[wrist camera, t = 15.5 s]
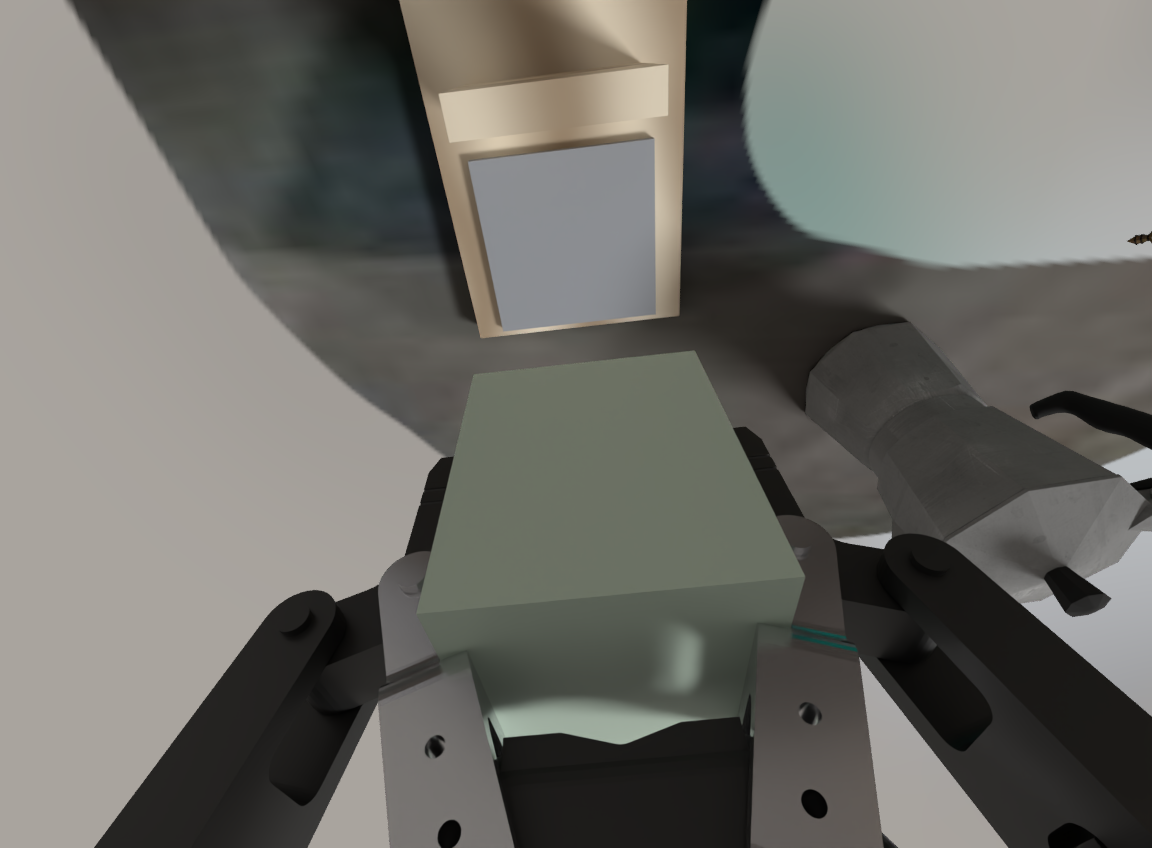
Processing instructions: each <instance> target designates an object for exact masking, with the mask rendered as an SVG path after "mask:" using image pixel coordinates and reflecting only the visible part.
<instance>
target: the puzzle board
mask: <svg viewBox="0 0 1152 848" xmlns="http://www.w3.org/2000/svg"><path fill="white" fill-rule="evenodd" d="M399 1H400V5H401V10H402V14H403V18H404V22H405V26H406V30H407V34H408V39H409V43H410V47H411V51H412V55H413V59H414V63H415V68H416V72H417V76H418V80H419V84H420V88H421V92H422V97H423V101H424V105H425V109H426V113H427V117H428V121H429V126H430V130H431V134H432V138H433V142H434V146H435V150H436V155H437V159H438V163H439V167H440V171H441V175H442V179H443V184H444V188H445V192H446V196H447V200H448V204H449V208H450V213H451V217H452V221H453V225H454V229H455V233H456V237H457V241H458V246H459V250H460V254H461V258H462V262H463V266H464V270H465V275H466V279H467V283H468V287H469V291H470V295H471V299H472V304H473V308H474V312H475V316H476V320H477V324H478V328H479V333H480V337H481V338H487V337H496V336H505V335H514V334H523V333H531V332H540V331H549V330H558V329H567V328H576V327H584V326H593V325H602V324H611V323H620V322H629V321H638V320H646V319H655V318H664V317H673V316H679V309H680V267H681V224H682V182H683V140H684V97H685V55H686V13H687V0H399ZM652 137H653V138H654V139H655V274H656V314H654V315H645V316H636V317H627V318H619V319H610V320H601V321H592V322H583V323H574V324H566V325H557V326H548V327H539V328H530V329H521V330H513V331H504V332H503V328H502V323H501V318H500V313H499V308H498V304H497V299H496V294H495V289H494V285H493V280H492V275H491V270H490V266H489V261H488V256H487V251H486V246H485V242H484V237H483V232H482V227H481V223H480V218H479V213H478V208H477V203H476V199H475V194H474V189H473V184H472V180H471V175H470V170H469V165H468V161H469V160H474V159H482V158H490V157H498V156H506V155H514V154H522V153H531V152H539V151H547V150H555V149H563V148H571V147H579V146H587V145H595V144H603V143H612V142H620V141H628V140H636V139H644V138H652Z"/></svg>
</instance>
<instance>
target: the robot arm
mask: <svg viewBox="0 0 1152 848" xmlns="http://www.w3.org/2000/svg"><path fill="white" fill-rule="evenodd" d="M733 430H734V432H735V434H736V436H737V438H738V440H739V442H740V444H741V446H742V448H743V450H744V452H745V454H746V456H747V458H748V460H749V462H750V464H751V466H752V469H753V471H754V473H755V475H756V477H757V479H758V481H759V483H760V485H761V487H762V489H763V491H764V493H765V495H766V497H767V499H768V501H769V503H770V505H771V507H772V509H773V511H774V513H775V516H776V518H777V520H778V522H779V524H780V526H781V528H782V530H783V532H784V534H785V536H786V538H787V540H788V542H789V544H790V546H791V548H792V550H793V552H794V554H795V556H796V558H797V560H798V562H799V565H800V567H801V569H802V571H803V573H804V575H805V580H804V583H803V587H802V590H801V594H800V597H799V601H798V604H797V608H796V611H795V615H794V618H793V622H792V625H791V628H790V629H789V628H784V627H780V626H775V625H770V624H764V623H757V625H756V630H755V635H754V640H753V644H752V649H751V654H750V658H749V663H748V668H747V673H746V677H745V682H744V687H743V691H742V696H741V701H740V706H739V710H738V715H737V717H729V718H718V719H707V720H696V721H685V722H679V723H677V724H674V725H672V726H669V727H667V728H664V729H662V730H659V731H657V732H654V733H652V734H649V735H647V736H644V737H642V738H639V739H637V740H634V741H632V742H629V743H626V744H614V743H609V742H604V741H599V740H594V739H590V738H585V737H580V736H575V735H570V734H565V733H550V734H539V735H528V736H516V737H505V735H504V732H503V730H502V728H501V725H500V723H499V721H498V719H497V716H496V714H495V712H494V710H493V707H492V705H491V703H490V701H489V698H488V696H487V694H486V691H485V689H484V687H483V685H482V682H481V680H480V678H479V676H478V673H477V671H476V669H475V667H474V664H473V662H472V660H471V657H470V655H469V653H468V651H467V650H465V651H462V652H459V653H457V654H454V655H452V656H449V657H447V658H445V659H442V660H440V659H439V657H438V655H437V653H436V652H435V650H434V648H433V646H432V644H431V642H430V640H429V638H428V636H427V634H426V632H425V630H424V628H423V626H422V624H421V622H420V621H419V619H418V617H417V615H416V613H417V609H418V604H419V600H420V596H421V592H422V588H423V584H424V579H425V575H426V571H427V567H428V563H429V559H430V554H431V550H432V546H433V542H434V538H435V534H436V529H437V525H438V521H439V517H440V513H441V509H442V504H443V500H444V496H445V492H446V488H447V484H448V480H449V475H450V471H451V467H452V463H453V459H454V457H446V458H441V459H440V460H439V461H438V462H437V464H436V465H435V466H434V467H433V469H432V470H431V471H430V472H429V474H428V478H427V481H426V485H425V488H424V492H423V495H422V498H421V502H420V503H421V506H419V509H418V512H417V516H416V519H415V522H414V526H413V529H412V533H411V536H410V540H409V543H408V546H407V550H406V553H405V556H404V557H402V558H401V559H399V560H397V561H396V562H395V563H393V564H392V565H391V566H390V567H389V568H388V569H387V571H386V572H385V573H384V575H383V576H382V578H381V581H380V583H379V585H377V586H376V587H374V588H371V589H369V590H367V591H364V592H361V593H359V594H356V595H353V596H351V597H348V598H345V599H343V600H340V601H338V602H335V601H334V599H333V598H332V597H331V596H330V595H329V594H328V593H326V592H324V591H318V590H312V591H306V592H302V593H299V594H296V595H294V596H292V597H290V598H288V599H286V600H285V601H284V602H282V603H281V604H279V605H278V606H277V607H276V608H275V609H273V610H272V611H271V613H270V614H269V615H268V616H267V617H266V618H265V620H264V621H263V622H262V624H261V625H260V626H259V628H258V629H257V630H256V632H255V633H254V635H253V636H252V637H251V638H250V640H249V641H248V643H247V644H246V645H245V646H244V648H243V649H242V651H241V652H240V653H239V654H238V656H237V657H236V659H235V660H234V661H233V663H232V664H231V665H230V667H229V668H228V669H227V671H226V672H225V673H224V675H223V676H222V677H221V679H220V680H219V681H218V683H217V684H216V685H215V687H214V688H213V689H212V691H211V692H210V693H209V695H208V696H207V697H206V699H205V700H204V701H203V703H202V704H201V705H200V707H199V708H198V709H197V711H196V712H195V713H194V715H193V716H192V717H191V719H190V720H189V722H188V723H187V724H186V725H185V727H184V728H183V729H182V731H181V732H180V734H179V735H178V736H177V738H176V739H175V740H174V741H173V743H172V744H171V746H170V747H169V748H168V750H167V751H166V752H165V754H164V755H163V756H162V758H161V759H160V760H159V762H158V763H157V764H156V766H155V767H154V768H153V770H152V771H151V772H150V774H149V775H148V776H147V778H146V779H145V780H144V782H143V783H142V784H141V786H140V787H139V788H138V790H137V791H136V792H135V794H134V795H133V796H132V798H131V799H130V800H129V802H128V803H127V804H126V806H125V807H124V809H123V810H122V811H121V813H120V814H119V815H118V816H117V818H116V819H115V821H114V822H113V823H112V824H111V826H110V827H109V828H108V830H107V831H106V833H105V834H104V835H103V837H102V838H101V839H100V841H99V842H98V843H97V845H96V846H95V847H94V848H307V847H308V845H309V843H310V841H311V839H312V837H313V835H314V833H315V831H316V829H317V827H318V825H319V823H320V821H321V818H322V816H323V814H324V812H325V810H326V808H327V806H328V804H329V802H330V800H331V798H332V796H333V794H334V792H335V790H336V788H337V785H338V783H339V781H340V779H341V777H342V775H343V773H344V771H345V769H346V767H347V765H348V763H349V761H350V759H351V757H352V754H353V752H354V750H355V748H356V746H357V744H358V742H359V740H360V738H361V736H362V734H363V732H364V730H365V728H366V726H367V723H368V721H369V719H370V717H371V715H372V713H373V711H374V709H375V707H376V705H377V703H378V707H379V720H380V732H381V744H382V757H383V767H384V781H385V793H386V806H387V818H388V830H389V842H390V848H898V847H897V846H896V845H895V844H894V843H892V842H891V841H890V840H889V839H888V838H887V837H886V836H885V835H884V834H883V833H882V831H881V824H880V816H879V808H878V801H877V792H876V784H875V777H874V769H873V761H872V753H871V745H870V738H869V730H868V722H867V714H866V707H865V699H864V691H863V683H862V676H861V668H860V661H859V657H860V658H861V660H862V661H863V662H864V664H865V665H866V666H867V667H868V669H869V670H870V671H871V672H872V674H873V675H874V676H875V678H876V679H877V680H878V681H879V683H880V684H881V685H882V687H883V688H884V689H885V690H886V692H887V693H888V694H889V695H890V697H891V698H892V699H893V701H894V702H895V703H896V704H897V706H898V707H899V708H900V709H901V710H902V712H903V713H904V715H905V716H906V717H907V719H908V720H909V721H910V722H911V724H912V725H913V726H914V727H915V729H916V730H917V731H918V733H919V734H920V735H921V736H922V738H923V739H924V740H925V742H926V743H927V744H928V745H929V746H930V748H931V749H932V750H933V752H934V753H935V754H936V756H937V757H938V758H939V759H940V761H941V762H942V763H943V765H944V766H945V767H946V768H947V770H948V771H949V772H950V773H951V775H952V776H953V777H954V779H955V780H956V781H957V782H958V784H959V785H960V786H961V787H962V789H963V790H964V791H965V793H966V794H967V795H968V796H969V798H970V799H971V800H972V801H973V803H974V804H975V805H976V807H977V808H978V809H979V811H980V812H981V813H982V814H983V816H984V817H985V818H986V819H987V821H988V822H989V823H990V825H991V826H992V827H993V828H994V830H995V831H996V832H997V833H998V835H999V836H1000V837H1001V839H1002V840H1003V841H1004V842H1005V844H1006V845H1007V846H1008V848H1152V717H1151V716H1150V715H1149V714H1148V713H1147V712H1146V711H1144V710H1143V709H1142V708H1141V707H1140V706H1139V705H1138V704H1136V703H1135V702H1134V701H1133V700H1132V699H1131V698H1129V697H1128V696H1127V695H1126V694H1125V693H1124V692H1122V691H1121V690H1120V689H1119V688H1118V687H1116V686H1115V685H1114V684H1113V683H1112V682H1111V681H1110V680H1108V679H1107V678H1106V677H1105V676H1104V675H1103V674H1101V673H1100V672H1099V671H1098V670H1097V669H1096V668H1094V667H1093V666H1092V665H1091V664H1090V663H1089V662H1087V661H1086V660H1085V659H1084V658H1083V657H1082V656H1080V655H1079V654H1078V653H1077V652H1076V651H1075V650H1073V649H1072V648H1071V647H1070V646H1069V645H1068V644H1066V643H1065V642H1064V641H1063V640H1062V639H1061V638H1059V637H1058V636H1057V635H1056V634H1055V633H1054V632H1052V631H1051V630H1050V629H1049V628H1048V627H1047V626H1045V625H1044V624H1043V623H1042V622H1041V621H1040V620H1038V619H1037V618H1036V617H1035V616H1034V615H1033V614H1031V613H1030V612H1029V611H1028V610H1027V609H1026V608H1024V607H1023V606H1022V605H1021V604H1020V603H1019V602H1017V601H1016V600H1015V599H1014V598H1013V597H1012V596H1011V595H1009V594H1008V593H1007V592H1006V591H1005V590H1004V589H1002V588H1001V587H1000V586H999V585H998V584H997V583H995V582H994V581H993V580H992V579H991V578H990V577H988V576H987V575H986V574H985V573H984V572H983V571H981V570H980V569H979V568H978V567H977V566H976V565H974V564H973V563H972V562H971V561H970V560H969V559H967V558H966V557H965V556H964V555H963V554H962V553H960V552H959V551H958V550H956V549H955V548H954V547H952V546H951V545H949V544H947V543H945V542H943V541H941V540H939V539H936V538H934V537H930V536H927V535H922V534H912V533H909V534H901V535H898V536H895V537H893V538H892V539H891V540H889V541H888V543H887V544H886V546H885V548H884V549H879V548H872V547H866V546H860V545H854V544H848V543H844V542H840V541H837V540H834V539H832V537H831V536H830V534H829V533H828V532H827V531H826V530H825V529H824V528H823V527H821V526H820V525H819V524H817V523H815V522H813V521H811V520H809V519H806V518H805V517H804V516H803V514H802V512H801V510H800V509H799V507H798V505H797V503H796V501H795V499H794V498H793V496H792V494H791V492H790V490H789V489H788V487H787V485H786V483H785V481H784V479H783V478H782V476H781V474H780V472H779V470H777V469H776V465H775V463H774V461H773V459H772V458H771V457H770V454H769V452H768V450H767V449H766V447H765V445H764V443H763V441H762V439H761V438H759V437H758V436H757V435H755V434H754V433H753V432H752V431H750V430H749V429H748V428H746V427H738V428H733Z"/></svg>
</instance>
